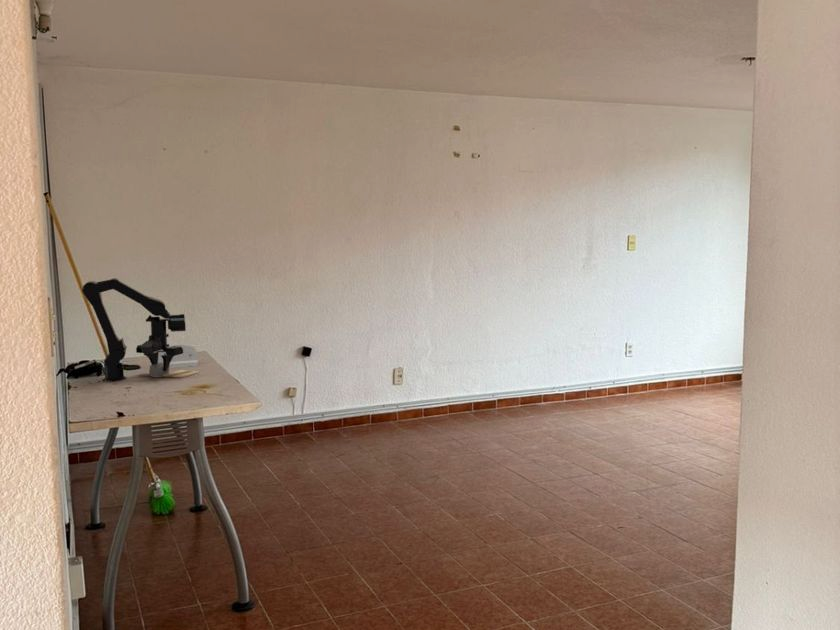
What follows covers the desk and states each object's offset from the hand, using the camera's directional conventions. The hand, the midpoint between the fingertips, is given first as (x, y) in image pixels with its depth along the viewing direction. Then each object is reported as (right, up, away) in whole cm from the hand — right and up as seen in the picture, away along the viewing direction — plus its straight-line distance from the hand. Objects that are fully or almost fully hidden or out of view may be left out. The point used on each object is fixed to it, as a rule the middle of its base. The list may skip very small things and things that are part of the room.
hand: (160, 371), depth 316 cm
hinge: (+1, 0, +20) cm, 20 cm away
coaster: (+8, -2, +2) cm, 8 cm away
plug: (+2, 0, 0) cm, 2 cm away
